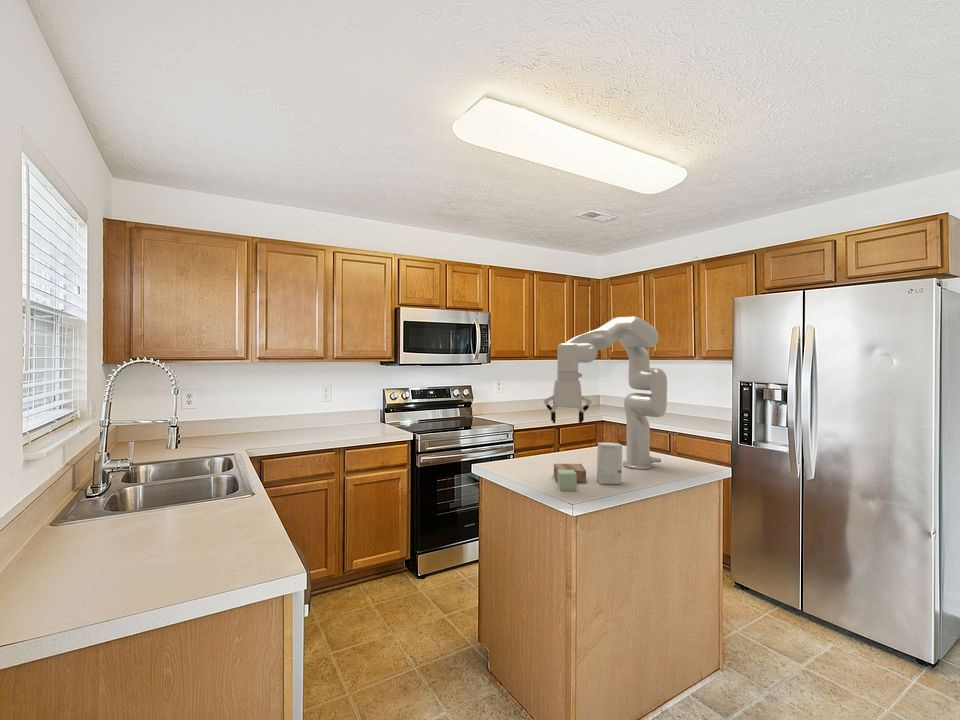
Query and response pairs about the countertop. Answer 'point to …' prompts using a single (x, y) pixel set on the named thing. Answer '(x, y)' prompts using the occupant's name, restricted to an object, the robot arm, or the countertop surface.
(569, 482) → the sage cube
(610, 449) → the skincare box
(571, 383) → the robot arm
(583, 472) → the walnut block
